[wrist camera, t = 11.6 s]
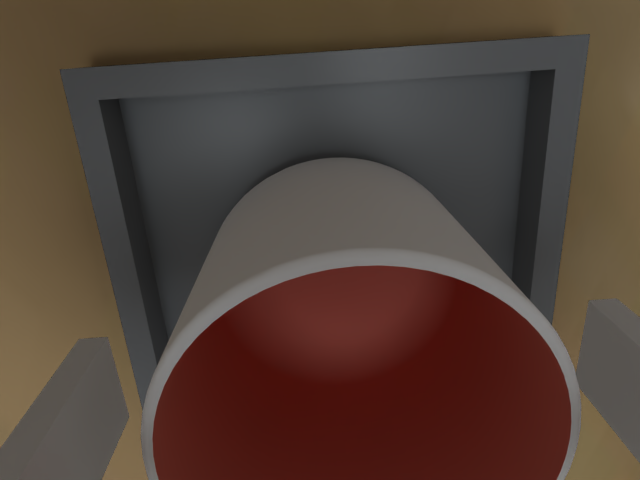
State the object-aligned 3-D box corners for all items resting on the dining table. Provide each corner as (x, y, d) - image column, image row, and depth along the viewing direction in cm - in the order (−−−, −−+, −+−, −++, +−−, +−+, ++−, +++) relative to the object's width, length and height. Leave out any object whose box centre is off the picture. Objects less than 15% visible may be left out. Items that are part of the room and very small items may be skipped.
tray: (89, 67, 18) (59, 69, 15) (553, 36, 18) (589, 34, 16) (171, 433, 24) (158, 472, 22) (514, 406, 24) (536, 443, 22)
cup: (382, 98, 18) (471, 151, 9) (492, 302, 21) (642, 500, 12) (164, 234, 19) (39, 402, 10) (297, 403, 23) (295, 648, 13)
